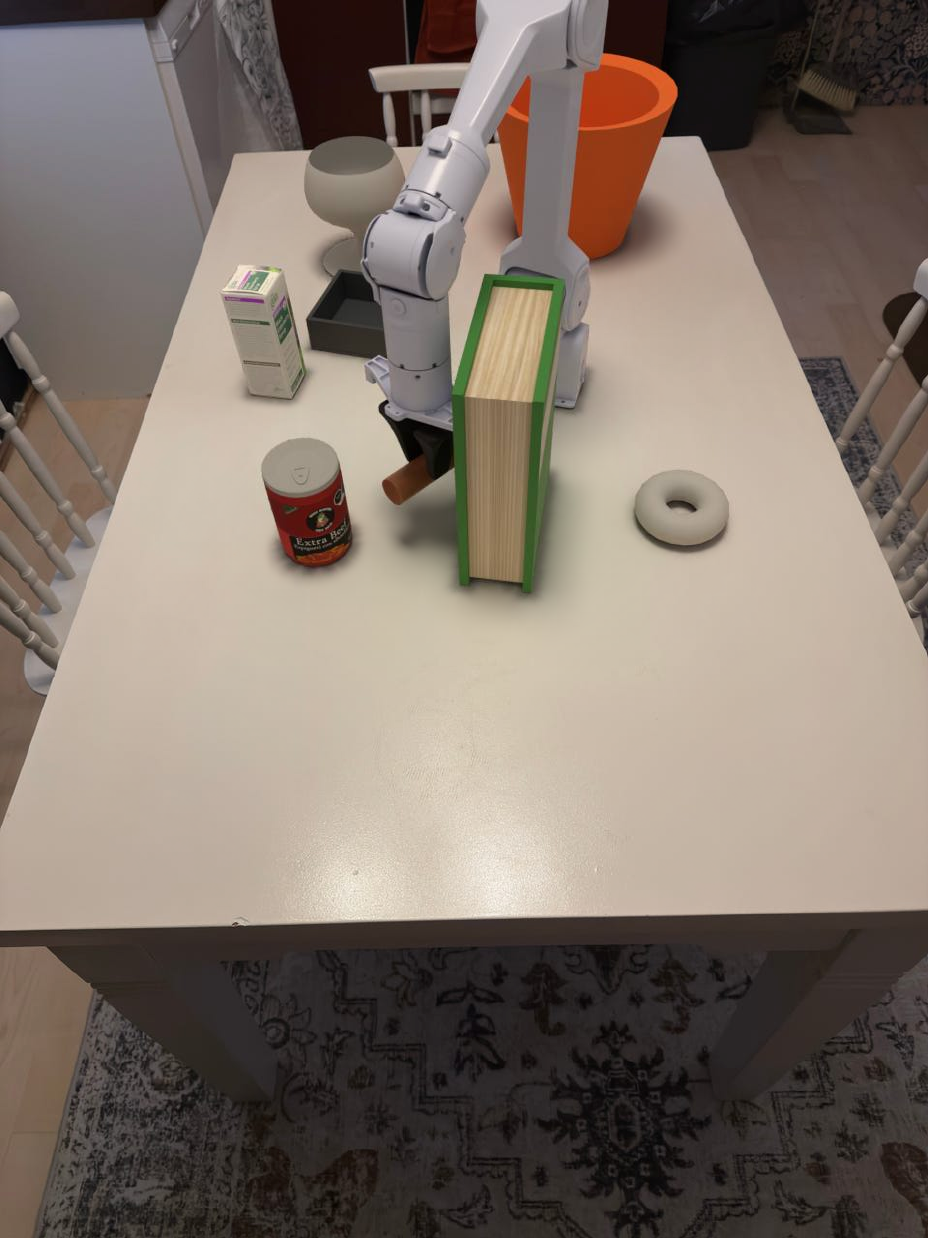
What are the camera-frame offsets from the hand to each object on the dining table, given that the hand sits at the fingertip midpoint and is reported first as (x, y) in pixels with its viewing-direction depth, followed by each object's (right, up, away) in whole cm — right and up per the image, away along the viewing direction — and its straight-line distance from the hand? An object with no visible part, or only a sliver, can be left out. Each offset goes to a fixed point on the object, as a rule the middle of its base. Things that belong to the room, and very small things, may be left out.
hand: (427, 465), depth 85 cm
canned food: (-12, -7, +5) cm, 15 cm away
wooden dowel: (+1, -1, 0) cm, 2 cm away
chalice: (-11, +37, +39) cm, 55 cm away
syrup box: (-20, +14, +21) cm, 33 cm away
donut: (+27, -5, +6) cm, 28 cm away
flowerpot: (+20, +43, +42) cm, 64 cm away
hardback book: (+8, -6, +6) cm, 12 cm away
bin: (-9, +24, +28) cm, 38 cm away
